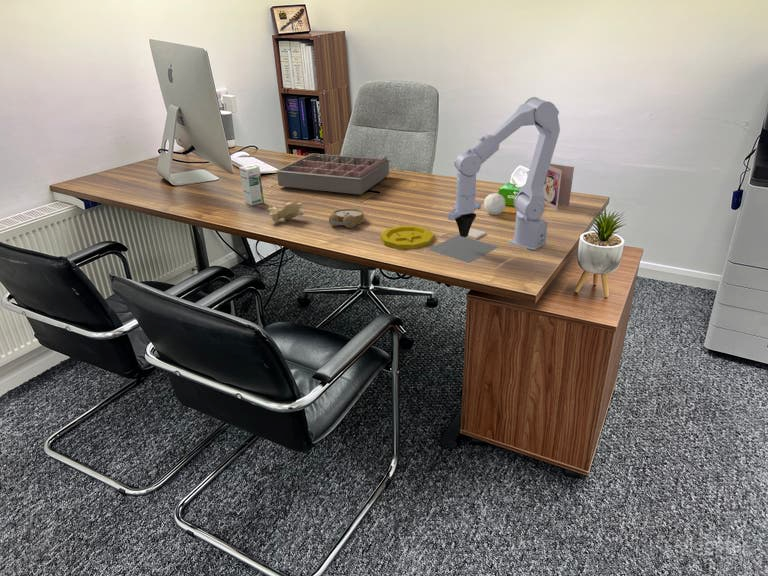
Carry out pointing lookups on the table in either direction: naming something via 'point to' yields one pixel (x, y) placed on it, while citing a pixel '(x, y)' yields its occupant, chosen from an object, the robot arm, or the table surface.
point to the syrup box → (251, 184)
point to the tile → (475, 233)
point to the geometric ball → (494, 204)
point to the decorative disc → (406, 237)
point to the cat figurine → (286, 211)
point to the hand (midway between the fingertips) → (463, 236)
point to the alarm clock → (346, 217)
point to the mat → (463, 248)
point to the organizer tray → (334, 173)
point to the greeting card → (558, 185)
